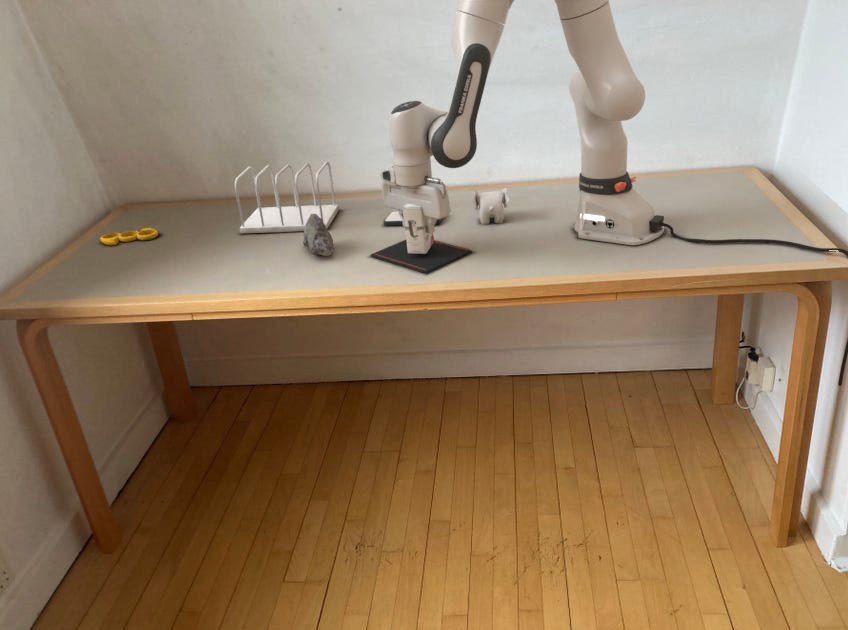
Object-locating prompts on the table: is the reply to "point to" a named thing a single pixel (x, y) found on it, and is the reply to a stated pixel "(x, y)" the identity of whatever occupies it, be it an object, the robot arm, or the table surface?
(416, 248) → the ink box
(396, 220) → the smartphone
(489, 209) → the elephant figurine
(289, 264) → the table surface
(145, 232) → the yellow linked rings
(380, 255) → the mat
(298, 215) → the file sorter
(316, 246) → the mineral rock
